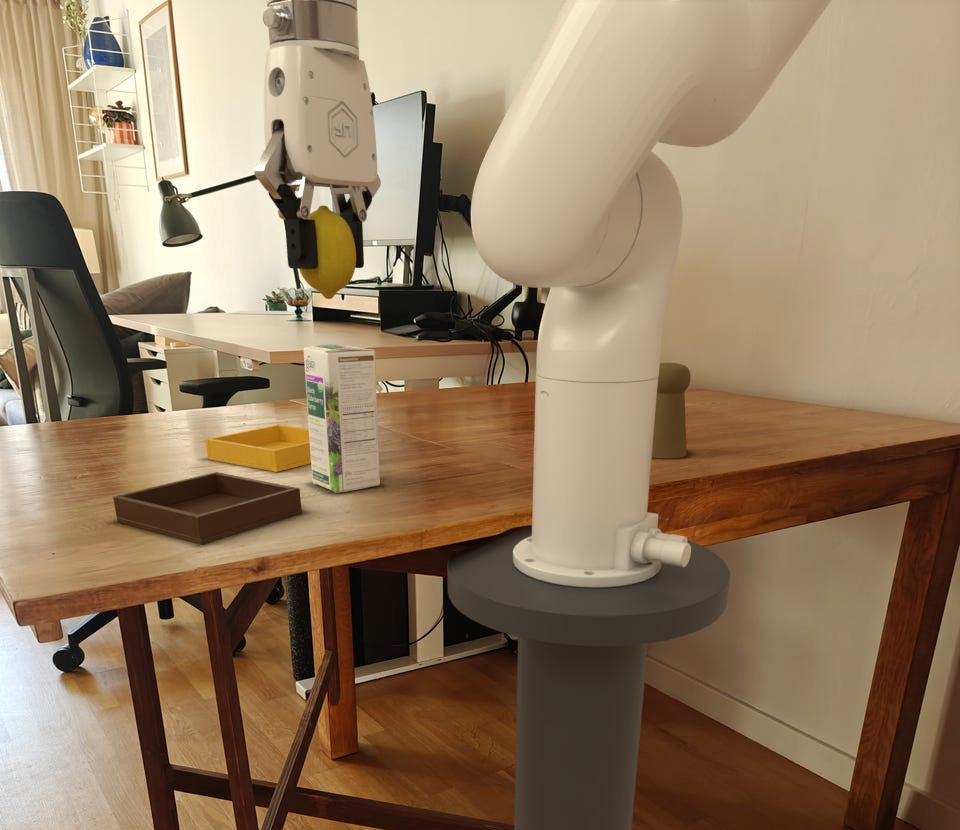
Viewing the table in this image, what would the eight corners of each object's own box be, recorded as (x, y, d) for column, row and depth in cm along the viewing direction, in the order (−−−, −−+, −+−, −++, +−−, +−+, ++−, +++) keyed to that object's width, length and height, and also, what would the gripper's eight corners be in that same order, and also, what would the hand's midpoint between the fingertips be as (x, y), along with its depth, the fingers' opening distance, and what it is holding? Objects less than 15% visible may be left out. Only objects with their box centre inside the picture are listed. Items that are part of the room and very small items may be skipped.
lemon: (351, 297, 85) (347, 206, 82) (363, 300, 80) (359, 205, 77) (295, 297, 83) (288, 205, 80) (304, 301, 79) (297, 203, 75)
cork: (645, 459, 107) (652, 366, 102) (633, 448, 112) (639, 360, 108) (692, 458, 107) (702, 366, 103) (678, 448, 113) (686, 360, 108)
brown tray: (302, 513, 85) (299, 488, 84) (201, 544, 75) (197, 517, 74) (219, 495, 91) (216, 471, 90) (117, 522, 82) (112, 496, 81)
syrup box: (310, 483, 95) (299, 346, 89) (357, 476, 99) (349, 342, 93) (335, 494, 91) (325, 350, 85) (383, 485, 94) (376, 346, 88)
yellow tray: (348, 453, 110) (346, 434, 109) (276, 472, 100) (274, 450, 99) (280, 443, 116) (278, 424, 115) (207, 459, 107) (205, 439, 106)
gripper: (270, 9, 65) (289, 270, 72) (411, 50, 78) (414, 267, 85) (203, 21, 69) (228, 268, 76) (348, 58, 82) (357, 266, 89)
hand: (326, 265), depth 81 cm, fingers closed on lemon, 5 cm apart
